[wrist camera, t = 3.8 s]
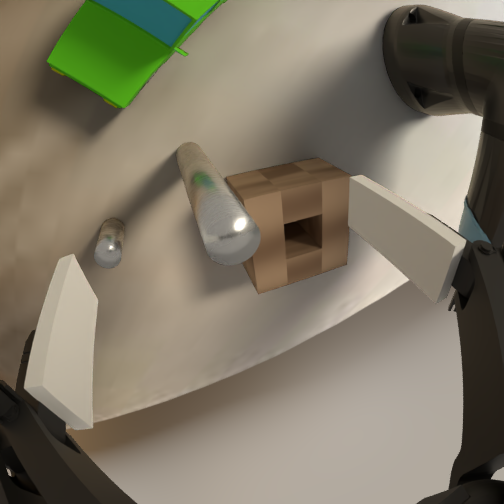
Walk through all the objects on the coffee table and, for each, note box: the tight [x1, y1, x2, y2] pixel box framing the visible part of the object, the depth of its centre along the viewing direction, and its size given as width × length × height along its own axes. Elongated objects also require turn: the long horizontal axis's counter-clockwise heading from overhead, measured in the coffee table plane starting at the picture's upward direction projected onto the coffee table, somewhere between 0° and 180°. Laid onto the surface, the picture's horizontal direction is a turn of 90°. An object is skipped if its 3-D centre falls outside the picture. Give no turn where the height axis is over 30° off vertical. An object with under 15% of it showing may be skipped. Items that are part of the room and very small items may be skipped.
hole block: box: [226, 158, 351, 294], centre depth 29 cm, size 10×10×6 cm
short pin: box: [94, 218, 125, 268], centre depth 24 cm, size 2×2×5 cm
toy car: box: [47, 0, 227, 108], centre depth 13 cm, size 10×13×10 cm
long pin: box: [176, 142, 261, 265], centre depth 19 cm, size 2×2×16 cm
